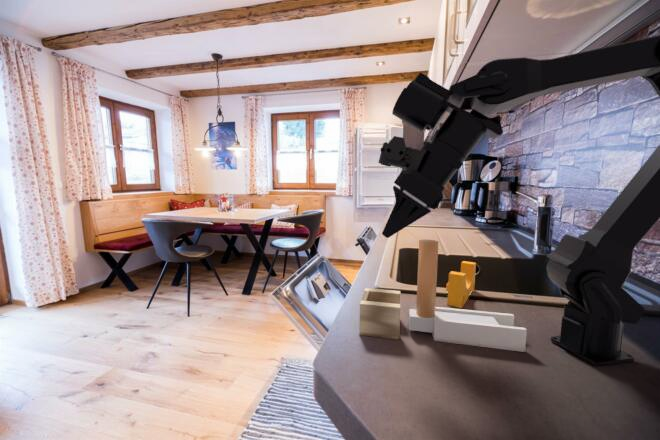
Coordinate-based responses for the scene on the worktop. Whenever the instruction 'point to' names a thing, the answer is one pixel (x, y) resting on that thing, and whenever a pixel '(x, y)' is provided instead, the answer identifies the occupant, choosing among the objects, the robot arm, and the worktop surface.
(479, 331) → the sleeve
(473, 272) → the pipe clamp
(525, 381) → the worktop surface
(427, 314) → the slide bolt
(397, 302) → the socket
